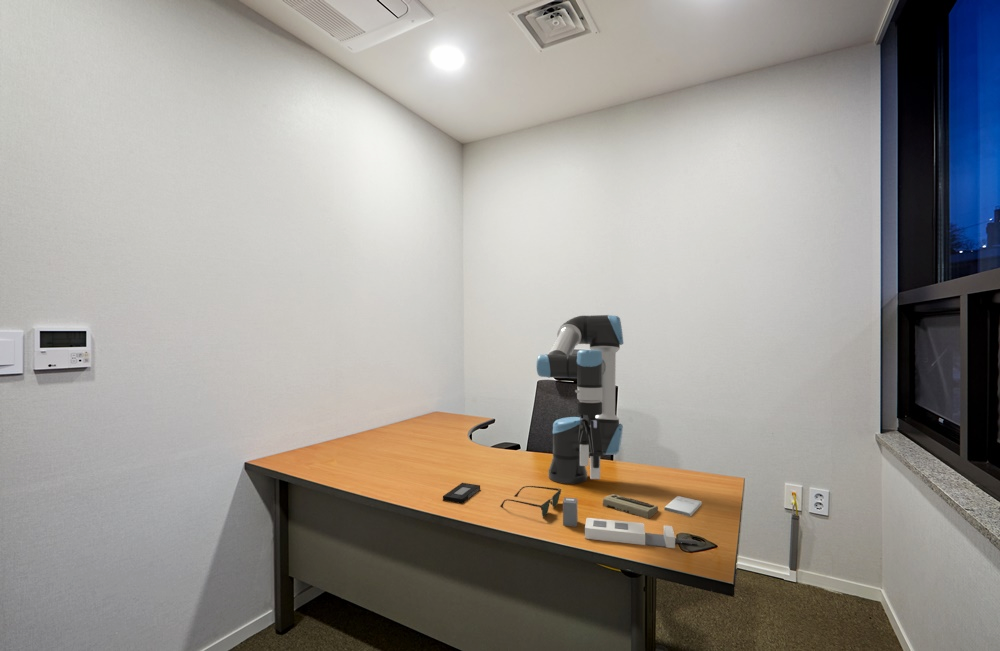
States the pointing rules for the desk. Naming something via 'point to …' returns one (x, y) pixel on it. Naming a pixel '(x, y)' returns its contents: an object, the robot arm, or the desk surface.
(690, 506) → the external hard drive
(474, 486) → the vhs tape
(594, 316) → the robot arm
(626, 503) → the computer
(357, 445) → the desk surface
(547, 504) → the sunglasses
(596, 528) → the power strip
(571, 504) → the charger
